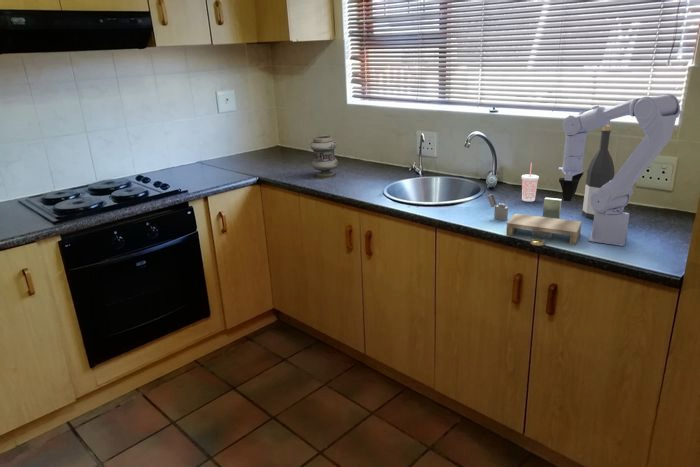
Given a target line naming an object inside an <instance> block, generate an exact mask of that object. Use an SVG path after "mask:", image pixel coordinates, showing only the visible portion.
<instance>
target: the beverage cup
mask: <svg viewBox="0 0 700 467" xmlns="http://www.w3.org/2000/svg"><path fill="white" fill-rule="evenodd" d="M532 169H533V162H530V167H529V174H527V173H525V174H522V175H521V200H522V201H524V202H530V203H531V202H534V201H536V194H537V189H538V188H537V187H538V181H539V179H540V176H539V175H537V174H533V173H532Z"/></svg>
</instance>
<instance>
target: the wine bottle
mask: <svg viewBox="0 0 700 467" xmlns="http://www.w3.org/2000/svg"><path fill="white" fill-rule="evenodd" d="M611 131H612V130H611V125H609V124H608V125H607V126H604V127H602V129H601V131H600V132H601V134H600V142H599V149H598V151H597V153H595V155H594V156H593V158H592V159H591V161H590V163H589V165H588V166H587V167H588V168H587V170H586V179H585V180H586V181H585V188H584V197H583V204H582V211H581V212H582V216H584V217H585V218H589V219H593V220H594V213H595V211H593V210H594V209H593V208H592V206H591V202H590V199H591V195H592V194H593V193H594V192H595V191H598V190H599V189H600V188H601V187H602V186H603V185H605V184H606V183H608V182H609V181H611V180H612V179H613V178H614V176H615V173H616V172H615V165H614V161H613V158H612V156H611V153H610V151H609V144H610V138H611V137H610V136H611Z"/></svg>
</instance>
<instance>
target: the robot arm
mask: <svg viewBox="0 0 700 467" xmlns="http://www.w3.org/2000/svg"><path fill="white" fill-rule="evenodd" d="M681 113H682V111H681V106H680V102H679V100H678V98H677V97H676V95H674V94H671V93H666V94H665V93H664V94H662V95H654V96H643V97H639V98H633V99H629V100H627V101H625V102H622V103H618V104H617V105H614V106H611V107H609V108H607V107H605V106H599V105H594V106H592V109H590V110H587V111H585V110H582V111H580V112H579V114H576V115H573V114H572V115H571V114H570V115H568V116H567V117H565V118H564V119H563V121H562V127H561V128H562V131H563V132H564V134H565V138H564V139H565V140H564V148H563V149H564V151H563V159H562V160H563V161H562V167H561V166H559V167H558V168H557V171H561V172H562V174H564V177H559V178H558V182H559V184H560V186H561V190H562V191H561V192H562V201H563V202H571V201H572V199H573V196H575V194H576V192H577V189H578V185H579V183H580V180H581V178H582V177H583V175H584V174H585V173H584V169H583V167H584V158H585V157H584V156H585V150H586V148H585V147H586V141H587V138H588V134H589V133H590V131H595V130H597V129H601V128H603V127H604V126H607V125H609V124H610V123H611V120H615V119H619V118H621V117H625V116H631V117H633V118H634V117H635V119H636V121H637V122H638V125H639V127H640V129H641V130H642V132H643V134H644V137H643V138H642V140H641V141H640V142H639V143H638V144H637V146H636V147H635V149H634V150H633V151H632V153H631V154H630V155H629V157H628V158H627V160H626V161H625V162H624V163H623V165H622V166H621V167H620V168H619V170H618V171H617V172H616V174H614V178H613V179H612V180H611V181H609V182H608V183H606V184H605V185H603V186H602V187H601V188H600V189H599V190H598V191H595V192H594V193H593V194H592V195H591V199H590V202H591V206H592V208H593V209H594V210H593V211H595V213H594V219H593V221H592V222H593V224H592V231H591V233H590V235H589V238H588V241H589V242H592V243H600V244H608V245H613V246H620V247H621V246H622V247H623V246H625V245H626V239H627V238H628V234H629V231H628V228H629V227H628V226H629V220H630V213H629V212H626V211H625V207H626V206H627V205H628V204H629V202H630V201H631V196H632V194H633V193H634V189H633V186H634V185H636V183H637V181H638V180H639V179H640V178H641V177H642V175H643V174H644V173H645V172H646V170H647V169H648V168H649V167H650V165H651V164H652V163H653V162H654V160H655V159H656V158H657V157H658V155H660V153H661V152H662V151H663V149H664V148H665V147H666V146H667V144H668V143H669V142H670V141H671V138H672V136H673V132H674V129H675V125H676V120H677V118H678V117H679V116H680V114H681ZM624 211H625V212H624Z"/></svg>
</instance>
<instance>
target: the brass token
mask: <svg viewBox="0 0 700 467" xmlns="http://www.w3.org/2000/svg"><path fill="white" fill-rule="evenodd" d="M530 244H531V245H532V246H538V247H542V246H544V245H545V244H546V241H545V240H544V239H542V238H532V239H530Z"/></svg>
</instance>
